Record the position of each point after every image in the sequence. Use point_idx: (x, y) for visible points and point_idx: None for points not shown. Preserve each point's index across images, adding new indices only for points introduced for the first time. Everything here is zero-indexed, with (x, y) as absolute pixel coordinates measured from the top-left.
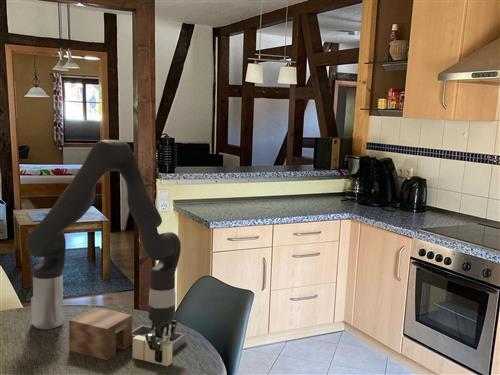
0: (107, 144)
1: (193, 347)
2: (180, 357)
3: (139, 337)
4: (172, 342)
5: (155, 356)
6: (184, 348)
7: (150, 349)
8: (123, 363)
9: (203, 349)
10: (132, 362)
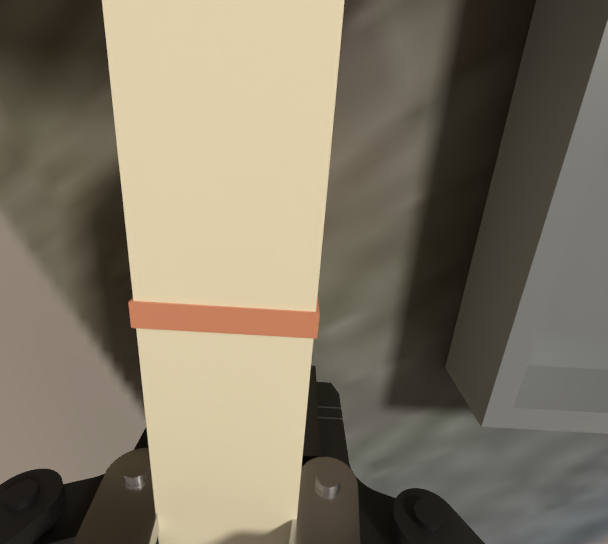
0: None
1: (587, 462)
2: (394, 449)
3: (222, 126)
4: (538, 413)
5: None
6: None
7: (14, 483)
8: (59, 46)
9: (563, 523)
10: None
